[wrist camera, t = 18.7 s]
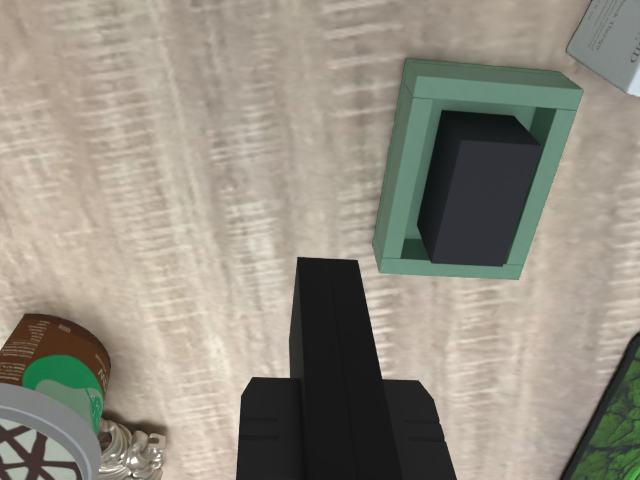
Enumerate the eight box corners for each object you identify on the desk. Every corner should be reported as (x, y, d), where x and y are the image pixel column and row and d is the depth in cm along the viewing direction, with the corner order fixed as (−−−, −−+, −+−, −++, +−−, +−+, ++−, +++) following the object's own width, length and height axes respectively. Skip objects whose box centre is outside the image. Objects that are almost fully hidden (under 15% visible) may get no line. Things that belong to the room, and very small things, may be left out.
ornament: (193, 453, 52) (188, 490, 49) (126, 478, 53) (117, 517, 50) (139, 396, 48) (130, 433, 45) (68, 425, 49) (54, 463, 46)
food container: (140, 413, 49) (112, 529, 40) (63, 418, 49) (18, 536, 40) (108, 292, 42) (66, 401, 34) (18, 297, 42) (-46, 408, 34)
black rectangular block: (441, 109, 36) (461, 139, 32) (514, 115, 36) (542, 145, 32) (416, 225, 40) (430, 263, 36) (481, 228, 40) (503, 267, 37)
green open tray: (405, 57, 35) (416, 75, 32) (560, 71, 36) (584, 89, 33) (371, 245, 42) (378, 273, 39) (503, 252, 43) (519, 280, 40)
